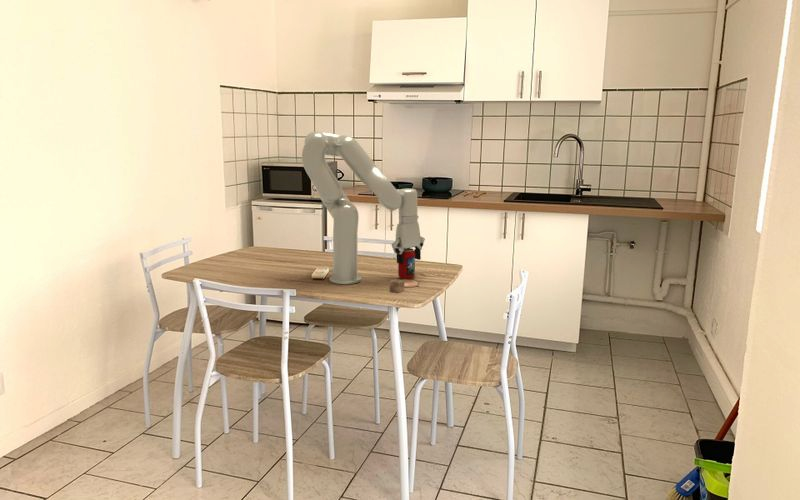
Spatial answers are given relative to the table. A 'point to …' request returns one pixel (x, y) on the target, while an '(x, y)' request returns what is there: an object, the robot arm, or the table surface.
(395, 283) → the walnut block
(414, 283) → the coaster
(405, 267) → the beverage can
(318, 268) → the table surface
